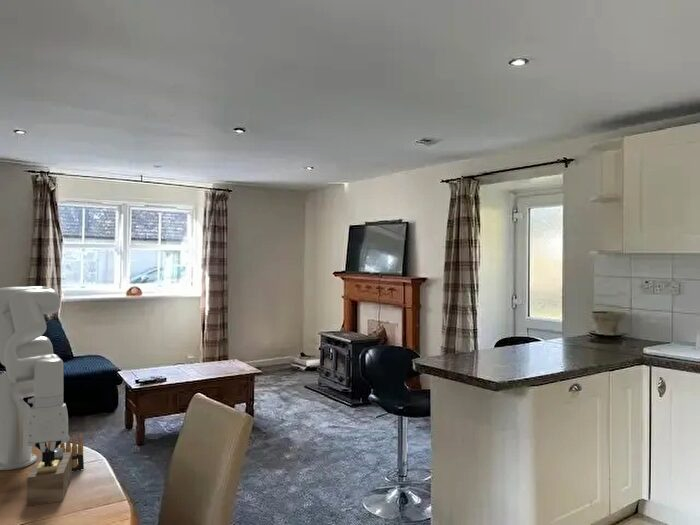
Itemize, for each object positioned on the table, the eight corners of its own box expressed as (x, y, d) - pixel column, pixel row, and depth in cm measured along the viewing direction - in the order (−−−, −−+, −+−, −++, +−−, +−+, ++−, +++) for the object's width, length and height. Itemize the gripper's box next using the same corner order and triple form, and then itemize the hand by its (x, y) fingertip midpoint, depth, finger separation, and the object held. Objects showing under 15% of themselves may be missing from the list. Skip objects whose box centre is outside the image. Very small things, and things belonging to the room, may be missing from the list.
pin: (41, 486, 157) (41, 455, 157) (44, 479, 162) (44, 449, 162) (61, 484, 159) (61, 452, 159) (64, 477, 164) (64, 447, 164)
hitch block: (39, 480, 164) (39, 455, 164) (71, 476, 167) (71, 451, 167) (27, 506, 147) (27, 477, 147) (63, 500, 150) (63, 473, 150)
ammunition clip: (46, 477, 167) (46, 439, 167) (46, 475, 168) (46, 437, 168) (83, 469, 173) (84, 433, 173) (83, 467, 174) (83, 431, 174)
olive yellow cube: (40, 477, 154) (40, 461, 154) (59, 475, 156) (59, 459, 156) (36, 484, 149) (36, 468, 149) (56, 481, 151) (56, 465, 151)
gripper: (15, 406, 146) (15, 472, 146) (75, 401, 152) (75, 465, 152) (22, 400, 153) (21, 462, 153) (78, 395, 159) (78, 456, 159)
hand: (48, 463), depth 152 cm, fingers closed
